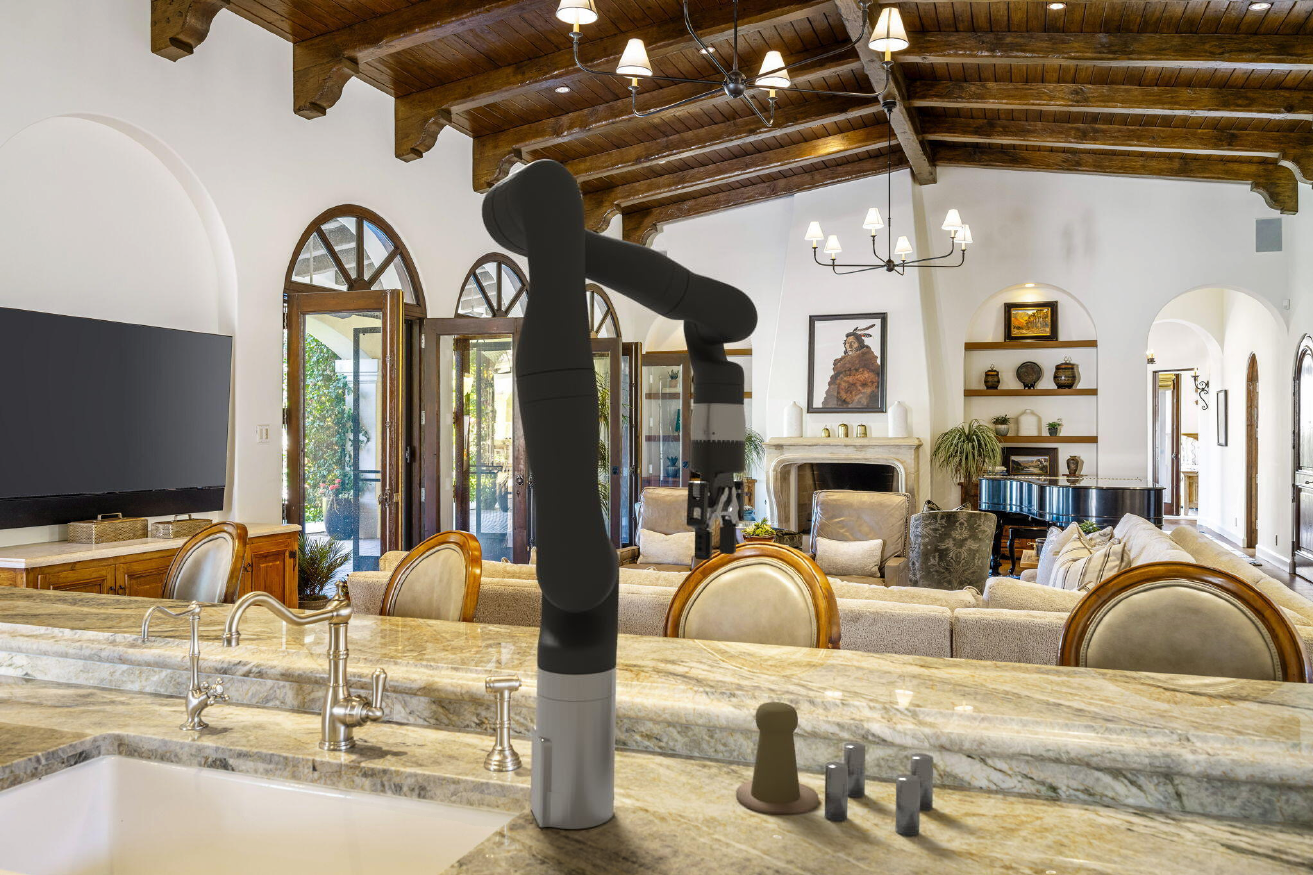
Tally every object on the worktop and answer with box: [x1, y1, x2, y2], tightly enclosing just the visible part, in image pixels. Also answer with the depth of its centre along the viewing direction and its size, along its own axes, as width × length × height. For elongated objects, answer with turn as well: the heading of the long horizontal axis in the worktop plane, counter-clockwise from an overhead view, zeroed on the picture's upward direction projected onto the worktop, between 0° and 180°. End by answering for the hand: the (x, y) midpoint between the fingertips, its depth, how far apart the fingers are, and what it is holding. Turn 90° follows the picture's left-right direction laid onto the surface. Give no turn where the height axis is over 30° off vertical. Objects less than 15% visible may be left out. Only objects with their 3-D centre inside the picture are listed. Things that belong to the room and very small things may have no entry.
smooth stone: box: [735, 780, 819, 816], centre depth 111 cm, size 10×10×1 cm
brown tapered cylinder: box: [751, 701, 800, 804], centre depth 111 cm, size 6×6×11 cm
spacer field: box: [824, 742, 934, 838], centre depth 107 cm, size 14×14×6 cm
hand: (715, 556), depth 124 cm, fingers open, 8 cm apart
